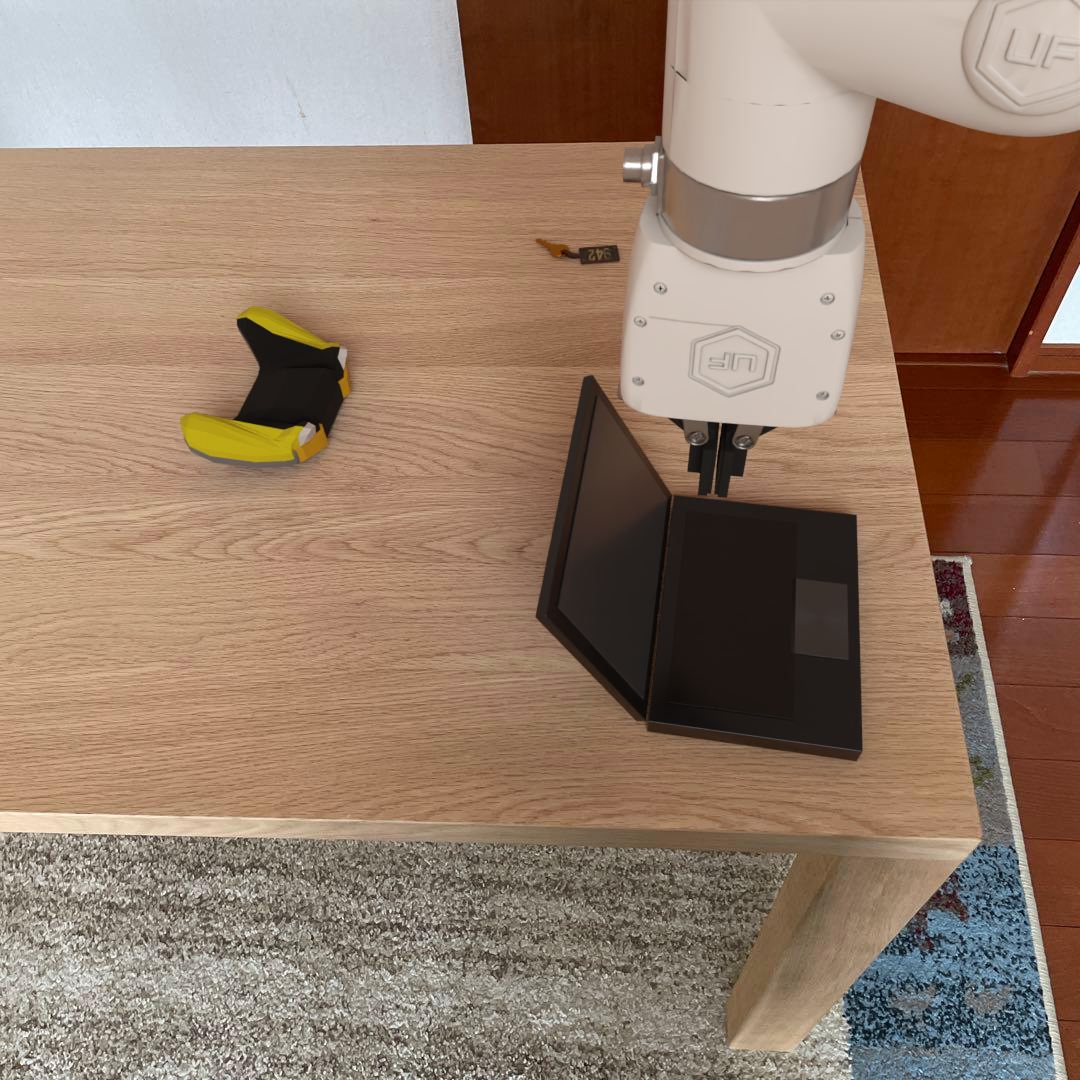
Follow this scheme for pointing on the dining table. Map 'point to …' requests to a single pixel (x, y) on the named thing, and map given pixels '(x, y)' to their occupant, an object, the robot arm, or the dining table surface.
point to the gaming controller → (276, 398)
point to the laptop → (760, 629)
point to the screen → (607, 553)
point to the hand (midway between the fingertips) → (713, 476)
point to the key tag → (584, 252)
